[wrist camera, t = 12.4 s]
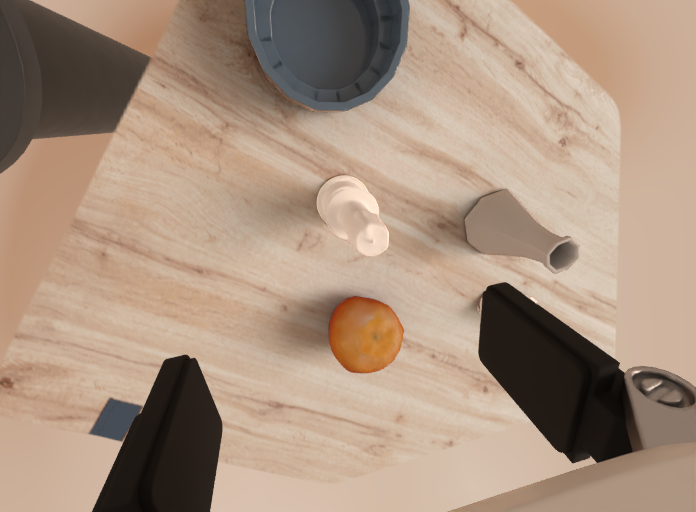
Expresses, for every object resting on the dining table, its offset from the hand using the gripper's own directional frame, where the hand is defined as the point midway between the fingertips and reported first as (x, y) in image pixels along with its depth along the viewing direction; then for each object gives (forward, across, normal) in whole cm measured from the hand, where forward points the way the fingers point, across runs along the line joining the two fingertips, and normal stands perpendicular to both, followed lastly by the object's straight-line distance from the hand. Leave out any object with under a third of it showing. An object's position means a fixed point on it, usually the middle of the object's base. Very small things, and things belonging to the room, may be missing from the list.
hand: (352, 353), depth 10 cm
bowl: (+23, -4, -12) cm, 27 cm away
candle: (+23, -4, +1) cm, 24 cm away
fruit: (+23, -4, +15) cm, 28 cm away
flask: (+23, -21, +6) cm, 32 cm away
